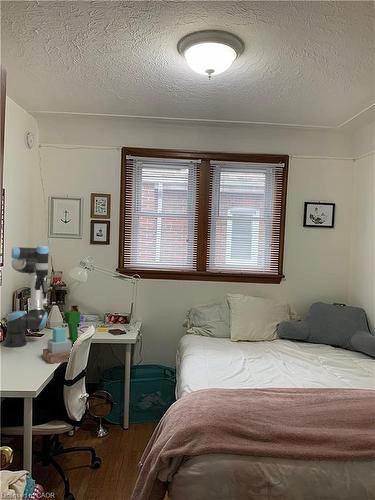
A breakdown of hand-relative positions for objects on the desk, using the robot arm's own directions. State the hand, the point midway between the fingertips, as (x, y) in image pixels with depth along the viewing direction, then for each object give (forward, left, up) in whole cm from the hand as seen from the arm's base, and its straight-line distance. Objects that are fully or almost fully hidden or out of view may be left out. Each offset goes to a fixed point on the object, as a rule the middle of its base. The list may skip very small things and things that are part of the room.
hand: (40, 301), depth 254 cm
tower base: (+14, +9, -36) cm, 40 cm away
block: (+13, +8, -24) cm, 29 cm away
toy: (-6, +26, -36) cm, 44 cm away
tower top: (+13, +9, -30) cm, 34 cm away
